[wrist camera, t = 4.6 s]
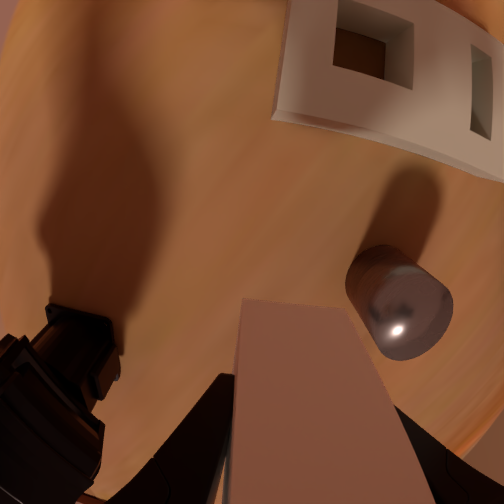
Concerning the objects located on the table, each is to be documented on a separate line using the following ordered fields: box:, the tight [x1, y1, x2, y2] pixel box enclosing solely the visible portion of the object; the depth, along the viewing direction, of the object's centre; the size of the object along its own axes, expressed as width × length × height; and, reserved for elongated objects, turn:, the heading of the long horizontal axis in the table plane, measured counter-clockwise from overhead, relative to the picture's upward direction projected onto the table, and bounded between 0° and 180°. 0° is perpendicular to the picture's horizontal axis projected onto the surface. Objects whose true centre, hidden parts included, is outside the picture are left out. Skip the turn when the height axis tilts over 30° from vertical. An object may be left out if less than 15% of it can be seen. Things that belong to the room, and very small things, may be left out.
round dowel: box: [345, 245, 453, 361], centre depth 16 cm, size 5×5×6 cm
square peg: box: [222, 298, 436, 504], centre depth 6 cm, size 3×3×8 cm
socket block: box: [271, 0, 504, 183], centre depth 13 cm, size 16×10×4 cm, turn 82°
